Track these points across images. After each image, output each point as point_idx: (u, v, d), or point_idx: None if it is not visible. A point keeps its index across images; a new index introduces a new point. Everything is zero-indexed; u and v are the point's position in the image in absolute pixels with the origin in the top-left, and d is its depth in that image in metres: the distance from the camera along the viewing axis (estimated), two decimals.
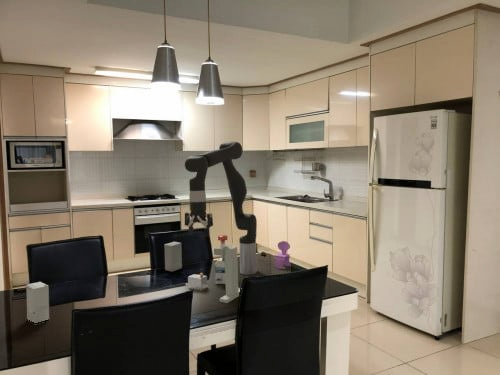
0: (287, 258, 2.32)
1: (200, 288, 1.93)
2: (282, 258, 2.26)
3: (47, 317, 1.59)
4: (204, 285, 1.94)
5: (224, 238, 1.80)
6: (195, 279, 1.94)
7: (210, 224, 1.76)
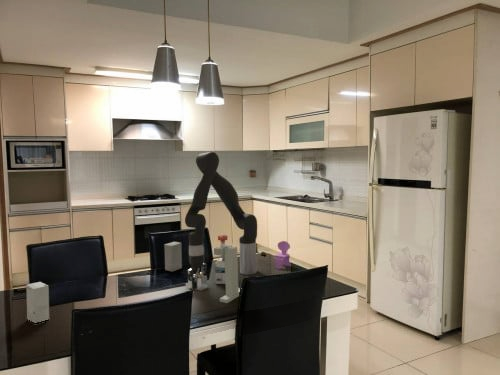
0: (287, 258, 2.32)
1: (200, 288, 1.93)
2: (282, 258, 2.26)
3: (47, 317, 1.59)
4: (203, 285, 1.94)
5: (224, 238, 1.80)
6: None
7: None
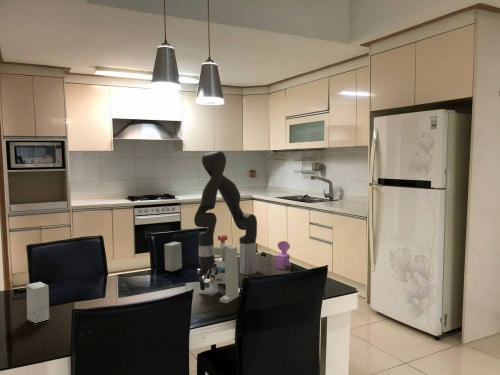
0: (287, 258, 2.32)
1: (210, 293, 1.85)
2: (282, 258, 2.26)
3: (47, 317, 1.59)
4: (214, 290, 1.86)
5: (224, 238, 1.80)
6: (205, 284, 1.86)
7: None
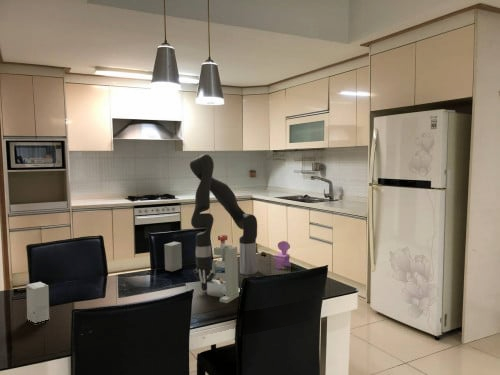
0: (287, 258, 2.32)
1: (220, 294, 1.82)
2: (282, 258, 2.26)
3: (47, 317, 1.59)
4: (224, 292, 1.84)
5: (224, 238, 1.80)
6: (215, 285, 1.83)
7: (200, 277, 1.92)
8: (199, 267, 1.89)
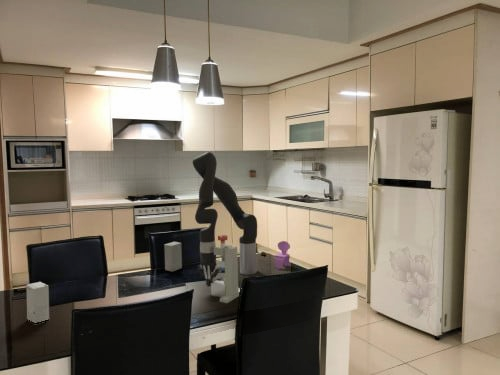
0: (287, 258, 2.32)
1: (224, 295, 1.81)
2: (282, 258, 2.26)
3: (47, 317, 1.59)
4: None
5: (224, 238, 1.80)
6: (219, 286, 1.82)
7: None
8: (204, 263, 1.87)
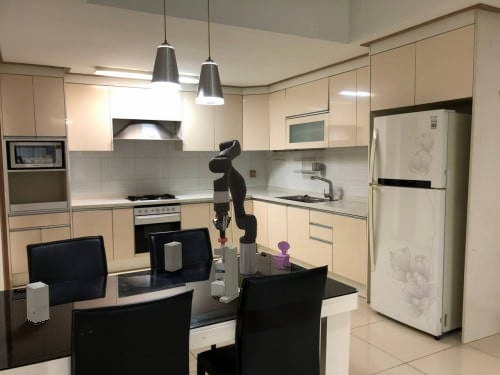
0: (287, 258, 2.32)
1: (224, 295, 1.81)
2: (282, 258, 2.26)
3: (47, 317, 1.59)
4: None
5: (224, 240, 1.80)
6: (219, 286, 1.82)
7: None
8: None
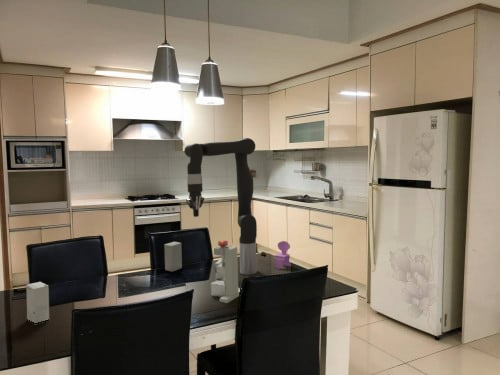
0: (287, 258, 2.32)
1: (224, 295, 1.81)
2: (282, 258, 2.26)
3: (47, 317, 1.59)
4: None
5: (224, 244, 1.81)
6: (219, 286, 1.82)
7: None
8: None
